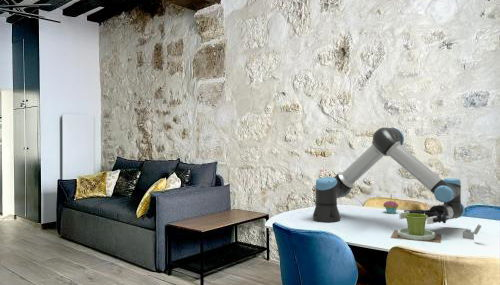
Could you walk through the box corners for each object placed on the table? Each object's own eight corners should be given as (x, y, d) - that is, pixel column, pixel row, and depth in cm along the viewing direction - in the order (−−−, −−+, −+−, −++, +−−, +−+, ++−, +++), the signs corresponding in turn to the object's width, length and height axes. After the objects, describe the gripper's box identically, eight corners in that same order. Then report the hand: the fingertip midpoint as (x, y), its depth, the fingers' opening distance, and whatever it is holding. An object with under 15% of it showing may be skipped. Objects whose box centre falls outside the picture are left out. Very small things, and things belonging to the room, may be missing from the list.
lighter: (462, 241, 168) (462, 223, 168) (463, 240, 170) (463, 222, 169) (481, 244, 164) (481, 225, 164) (481, 243, 165) (481, 224, 165)
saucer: (396, 238, 169) (396, 234, 169) (400, 230, 182) (400, 227, 182) (434, 242, 162) (434, 237, 162) (435, 234, 175) (435, 230, 175)
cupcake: (399, 214, 229) (399, 194, 229) (384, 213, 230) (384, 193, 230) (397, 211, 237) (396, 192, 237) (382, 211, 239) (382, 192, 239)
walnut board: (390, 241, 170) (390, 237, 170) (394, 233, 184) (394, 230, 184) (440, 246, 160) (440, 243, 160) (441, 237, 175) (441, 234, 175)
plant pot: (418, 238, 166) (418, 218, 166) (400, 233, 174) (400, 214, 174) (432, 235, 170) (432, 215, 170) (414, 231, 179) (414, 212, 179)
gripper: (467, 225, 172) (440, 232, 160) (417, 216, 193) (389, 221, 181) (467, 208, 172) (440, 214, 160) (416, 201, 193) (389, 206, 181)
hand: (413, 218), depth 171 cm, fingers open, 13 cm apart
